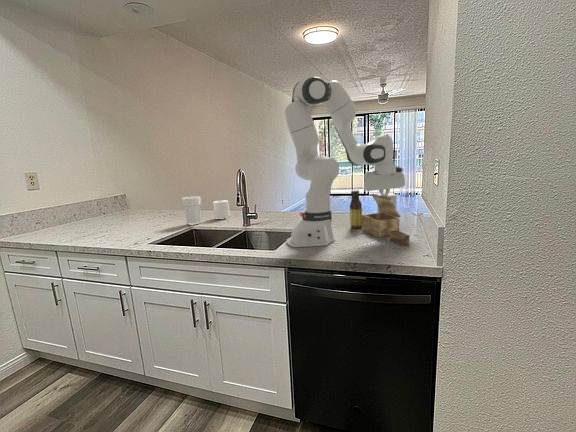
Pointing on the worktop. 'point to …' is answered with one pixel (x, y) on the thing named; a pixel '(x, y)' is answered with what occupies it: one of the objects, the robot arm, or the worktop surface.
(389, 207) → the lid
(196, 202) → the cup
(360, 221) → the sauce bottle
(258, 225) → the worktop surface
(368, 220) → the bread box
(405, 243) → the walnut batten
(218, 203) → the white tapered cylinder
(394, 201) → the supplement box
